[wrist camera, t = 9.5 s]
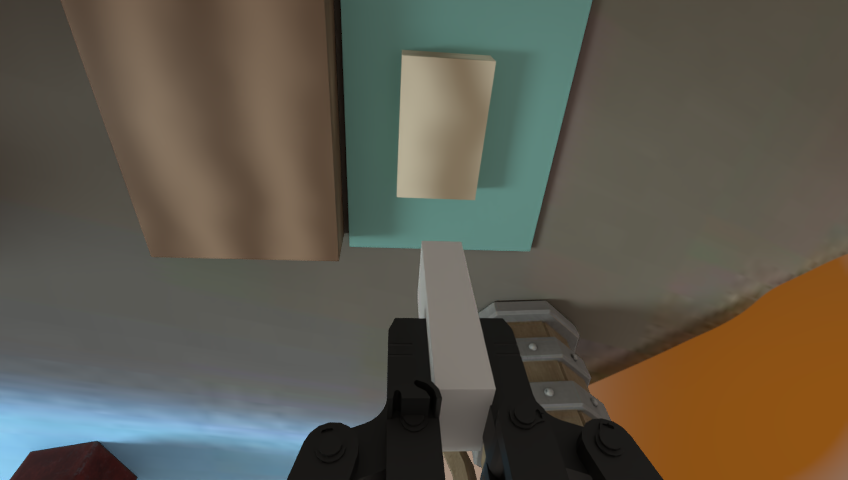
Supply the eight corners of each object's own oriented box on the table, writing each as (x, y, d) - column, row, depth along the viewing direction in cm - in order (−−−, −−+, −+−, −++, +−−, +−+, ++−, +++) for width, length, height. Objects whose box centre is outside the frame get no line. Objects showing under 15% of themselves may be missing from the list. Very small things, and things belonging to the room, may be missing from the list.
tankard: (522, 278, 40) (578, 421, 28) (593, 341, 46) (667, 484, 33) (382, 381, 47) (376, 531, 35) (457, 424, 53) (476, 568, 40)
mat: (350, 243, 37) (349, 246, 37) (339, -66, 25) (338, -66, 25) (528, 248, 38) (530, 251, 38) (599, -44, 26) (603, -44, 26)
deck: (174, 228, 35) (151, 256, 32) (85, -66, 24) (35, -70, 21) (344, 233, 36) (338, 261, 33) (331, -46, 25) (321, -47, 22)
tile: (475, 200, 32) (471, 188, 34) (496, 61, 27) (490, 55, 29) (396, 197, 32) (396, 185, 34) (401, 55, 26) (401, 49, 28)
